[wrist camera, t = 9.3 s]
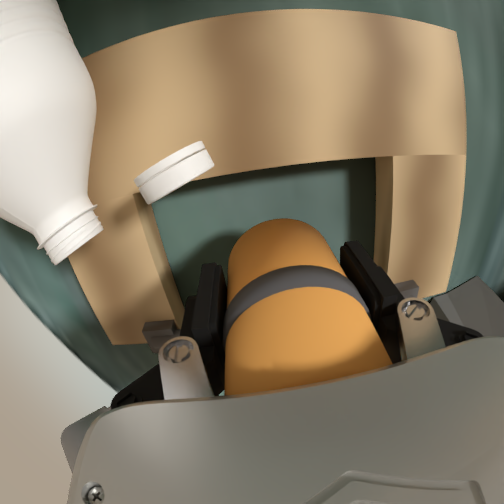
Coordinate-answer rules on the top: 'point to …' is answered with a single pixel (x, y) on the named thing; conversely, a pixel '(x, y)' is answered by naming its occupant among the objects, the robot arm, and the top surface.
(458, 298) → the transformer
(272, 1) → the top surface
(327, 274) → the banded orange cylinder
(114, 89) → the oak frame
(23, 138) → the water bottle
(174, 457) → the robot arm
